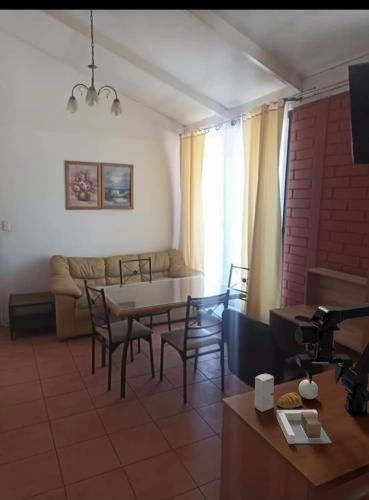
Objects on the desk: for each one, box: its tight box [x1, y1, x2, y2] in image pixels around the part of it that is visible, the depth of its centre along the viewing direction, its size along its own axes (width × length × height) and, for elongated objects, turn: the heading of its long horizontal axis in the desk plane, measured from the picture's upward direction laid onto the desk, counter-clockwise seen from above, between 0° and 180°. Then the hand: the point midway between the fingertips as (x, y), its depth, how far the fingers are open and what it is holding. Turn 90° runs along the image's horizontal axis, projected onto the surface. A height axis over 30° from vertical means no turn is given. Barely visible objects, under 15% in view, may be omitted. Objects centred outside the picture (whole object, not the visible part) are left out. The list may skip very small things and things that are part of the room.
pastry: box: [276, 391, 303, 409], centre depth 137 cm, size 9×7×4 cm
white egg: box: [298, 379, 320, 400], centre depth 141 cm, size 10×7×7 cm
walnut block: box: [301, 412, 322, 438], centre depth 119 cm, size 7×4×5 cm, turn 1°
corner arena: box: [276, 409, 333, 445], centre depth 121 cm, size 14×14×3 cm
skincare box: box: [254, 373, 275, 413], centre depth 134 cm, size 6×4×12 cm
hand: (322, 383), depth 129 cm, fingers open, 9 cm apart
